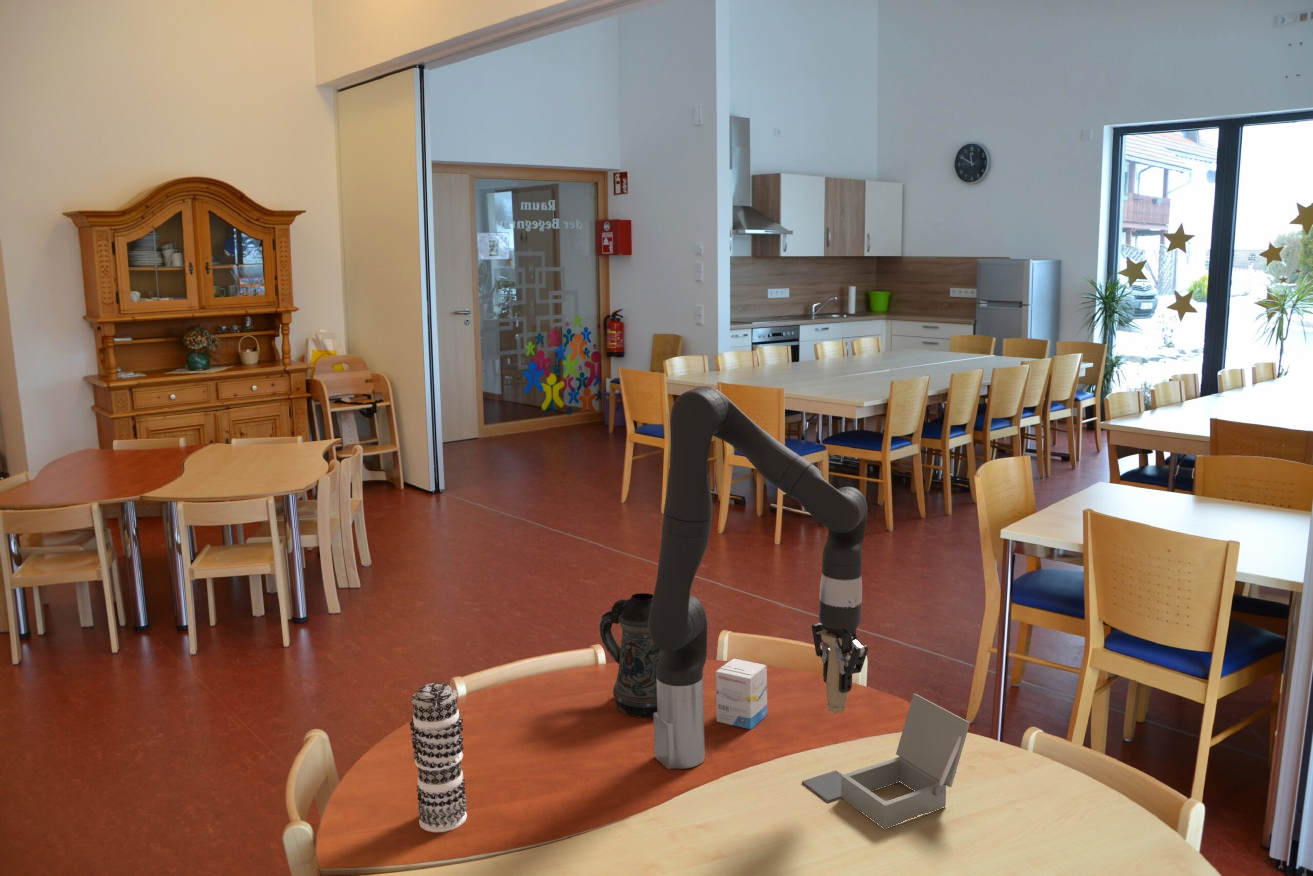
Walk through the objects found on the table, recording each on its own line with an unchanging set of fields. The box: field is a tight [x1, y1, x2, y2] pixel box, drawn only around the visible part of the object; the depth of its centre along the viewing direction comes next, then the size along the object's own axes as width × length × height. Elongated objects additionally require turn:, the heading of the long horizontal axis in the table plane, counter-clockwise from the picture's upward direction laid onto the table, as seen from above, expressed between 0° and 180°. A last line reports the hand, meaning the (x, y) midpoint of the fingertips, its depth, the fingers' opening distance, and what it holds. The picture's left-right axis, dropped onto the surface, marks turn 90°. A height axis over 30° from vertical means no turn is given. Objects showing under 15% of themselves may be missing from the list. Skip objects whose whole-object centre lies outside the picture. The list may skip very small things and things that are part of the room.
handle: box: [821, 629, 858, 714], centre depth 180 cm, size 5×6×15 cm
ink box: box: [715, 658, 768, 730], centre depth 213 cm, size 9×8×12 cm
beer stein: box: [599, 592, 663, 719], centre depth 221 cm, size 16×19×25 cm
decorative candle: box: [409, 682, 468, 833], centre depth 175 cm, size 9×9×25 cm
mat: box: [801, 770, 843, 803], centre depth 184 cm, size 8×8×1 cm
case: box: [840, 693, 971, 830], centre depth 178 cm, size 18×14×16 cm
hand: (837, 686), depth 180 cm, fingers closed on handle, 4 cm apart
